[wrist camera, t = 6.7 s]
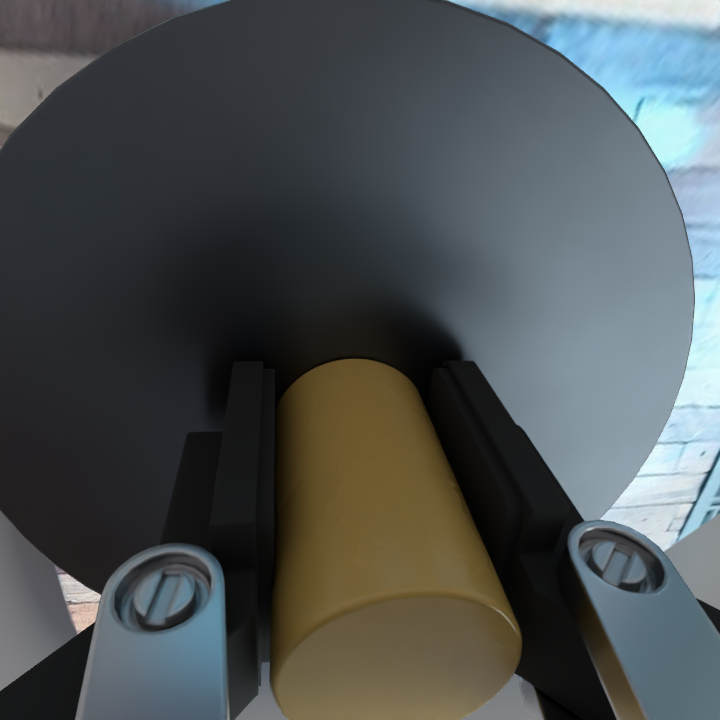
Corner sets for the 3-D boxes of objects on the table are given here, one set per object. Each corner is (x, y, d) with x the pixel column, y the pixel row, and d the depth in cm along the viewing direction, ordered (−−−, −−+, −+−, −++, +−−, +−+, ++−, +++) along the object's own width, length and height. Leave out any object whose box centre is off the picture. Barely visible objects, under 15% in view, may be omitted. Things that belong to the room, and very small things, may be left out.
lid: (57, 626, 14) (-79, 976, 8) (-166, -59, 7) (-1632, -460, 2) (564, 587, 16) (705, 848, 11) (777, 38, 9) (1475, 5, 4)
